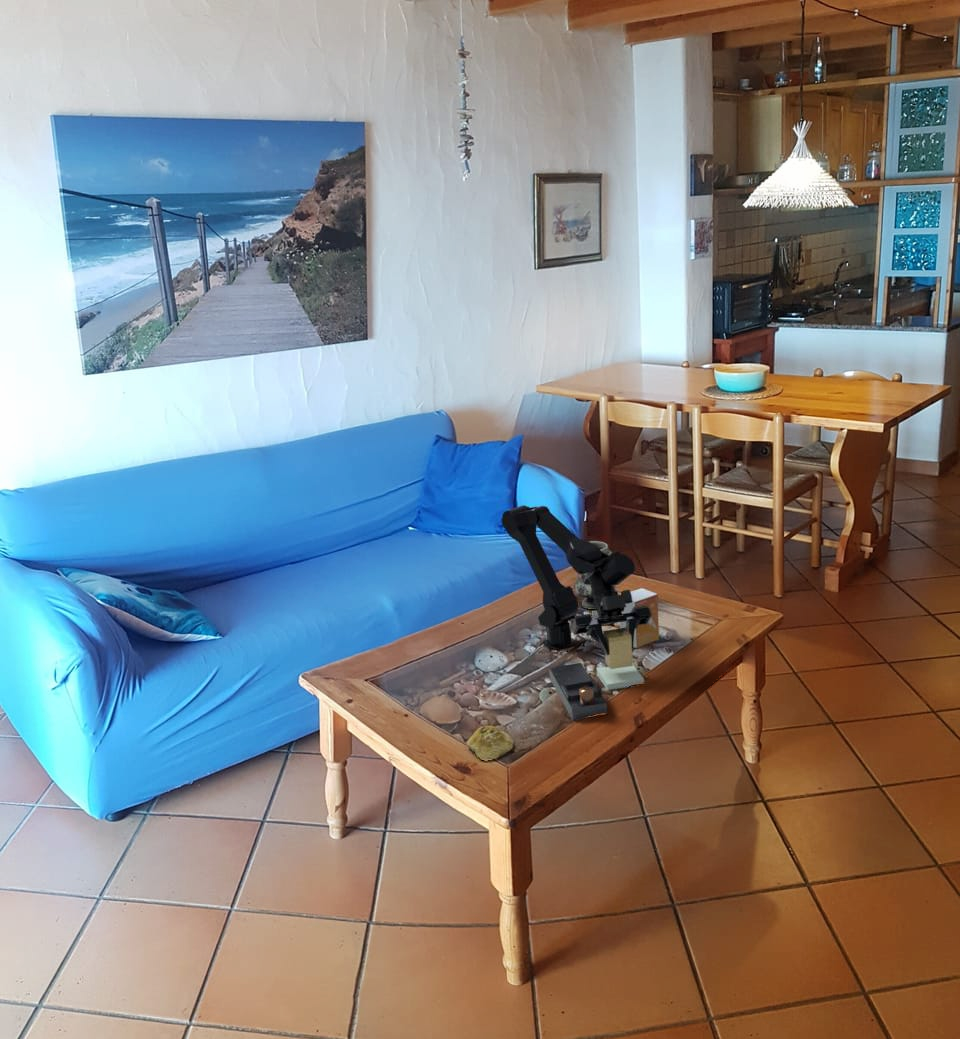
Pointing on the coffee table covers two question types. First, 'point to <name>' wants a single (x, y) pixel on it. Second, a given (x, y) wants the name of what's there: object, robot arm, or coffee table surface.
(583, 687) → the plane body
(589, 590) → the apothecary jar
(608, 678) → the sage mat
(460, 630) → the coffee table surface
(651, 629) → the small box
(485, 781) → the coffee table surface
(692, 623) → the coffee table surface
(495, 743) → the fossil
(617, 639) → the lever cap
